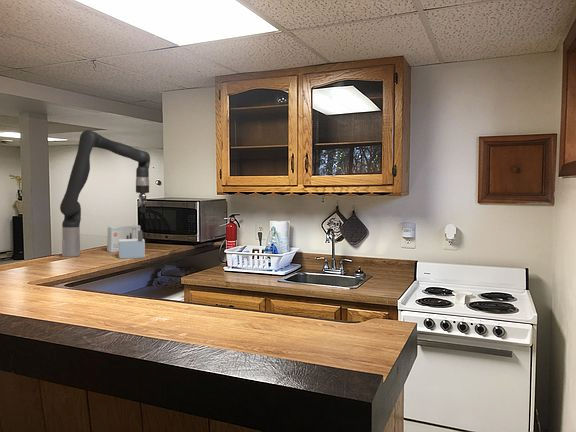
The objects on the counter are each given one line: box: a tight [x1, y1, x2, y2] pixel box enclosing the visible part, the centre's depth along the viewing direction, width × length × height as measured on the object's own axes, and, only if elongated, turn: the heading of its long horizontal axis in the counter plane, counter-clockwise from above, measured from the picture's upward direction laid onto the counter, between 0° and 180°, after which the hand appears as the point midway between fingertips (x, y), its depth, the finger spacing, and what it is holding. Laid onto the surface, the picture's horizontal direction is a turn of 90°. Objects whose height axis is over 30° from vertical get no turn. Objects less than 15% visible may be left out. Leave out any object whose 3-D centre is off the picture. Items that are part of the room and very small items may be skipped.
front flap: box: [119, 230, 145, 259], centre depth 257 cm, size 14×1×16 cm, turn 113°
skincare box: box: [106, 224, 141, 253], centre depth 286 cm, size 21×6×16 cm, turn 143°
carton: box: [118, 238, 146, 259], centre depth 263 cm, size 14×10×10 cm
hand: (142, 212), depth 262 cm, fingers open, 8 cm apart
